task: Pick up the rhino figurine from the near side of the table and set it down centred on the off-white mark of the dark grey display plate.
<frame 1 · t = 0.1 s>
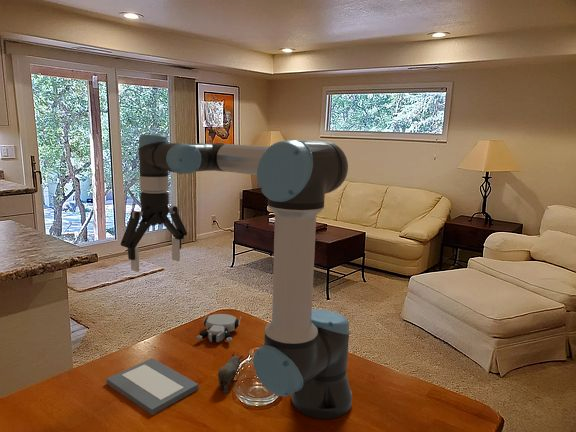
hand: (156, 265, 124), 28 cm above the table, tool pointing down, fingers open, 13 cm apart
rhino figurine: (231, 380, 118), on the table
display plate: (152, 386, 114), on the table
robot toy: (219, 335, 144), on the table
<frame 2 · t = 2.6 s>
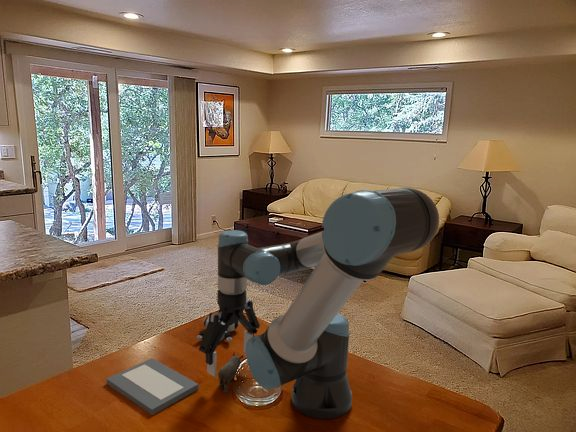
hand: (230, 363, 118), 4 cm above the table, tool pointing down, fingers open, 13 cm apart
nothing on the table moved.
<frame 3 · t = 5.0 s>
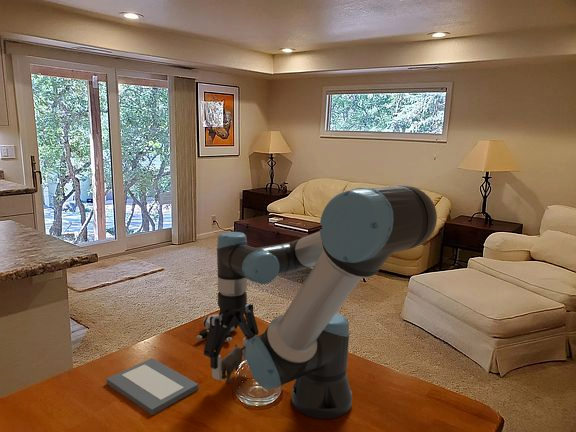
hand: (232, 369, 117), 3 cm above the table, tool pointing down, fingers closed on rhino figurine, 11 cm apart
rhino figurine: (234, 370, 118), point 3 cm above the table, touching gripper
everything else where it was.
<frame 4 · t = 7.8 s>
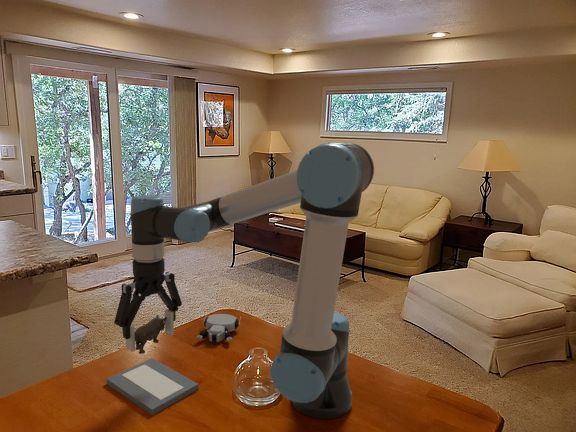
hand: (150, 341, 111), 13 cm above the table, tool pointing down, fingers closed on rhino figurine, 11 cm apart
rhino figurine: (152, 342, 112), point 12 cm above the table, touching gripper
everything else where it was.
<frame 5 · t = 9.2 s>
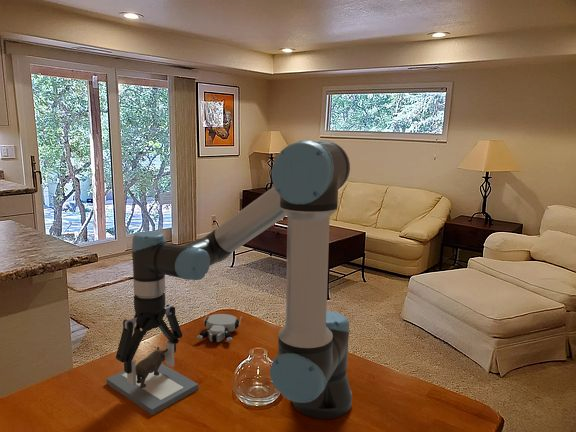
hand: (151, 373, 113), 4 cm above the table, tool pointing down, fingers closed on rhino figurine, 11 cm apart
rhino figurine: (153, 374, 114), point 3 cm above the table, touching gripper
everything else where it was.
when the fingers open (2 cm above the table, at t = 10.5 s): rhino figurine stays where it is, resting on display plate.
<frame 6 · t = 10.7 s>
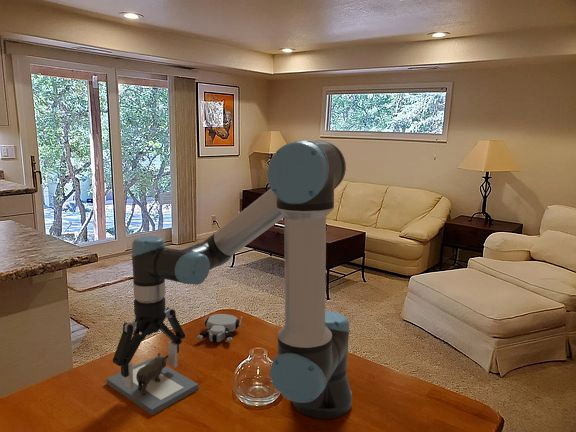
hand: (152, 375, 113), 3 cm above the table, tool pointing down, fingers open, 13 cm apart
rhino figurine: (154, 380, 114), point 1 cm above the table, touching display plate
everything else where it was.
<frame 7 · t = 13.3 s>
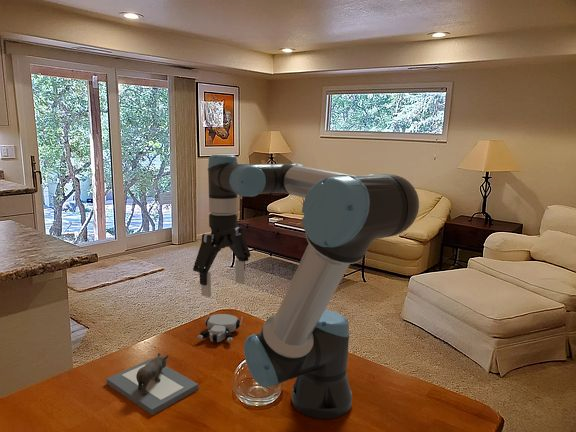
hand: (223, 289, 120), 23 cm above the table, tool pointing down, fingers open, 13 cm apart
nothing on the table moved.
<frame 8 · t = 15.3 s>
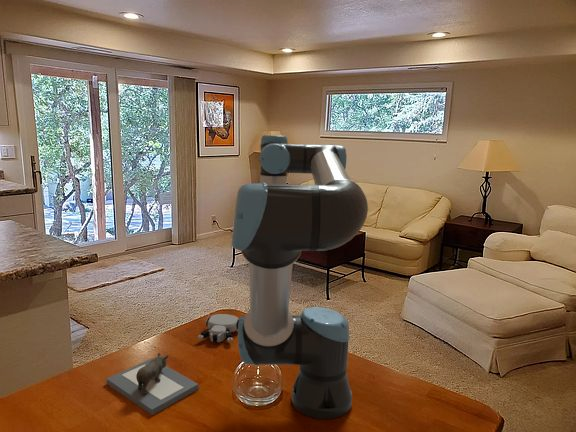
hand: (271, 261, 128), 29 cm above the table, tool pointing down, fingers open, 13 cm apart
nothing on the table moved.
at the end: rhino figurine 0.7 cm off-centre on the display plate, point 1.4 cm above the display plate's base; rhino figurine tilted 0°; the gripper is holding nothing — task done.
